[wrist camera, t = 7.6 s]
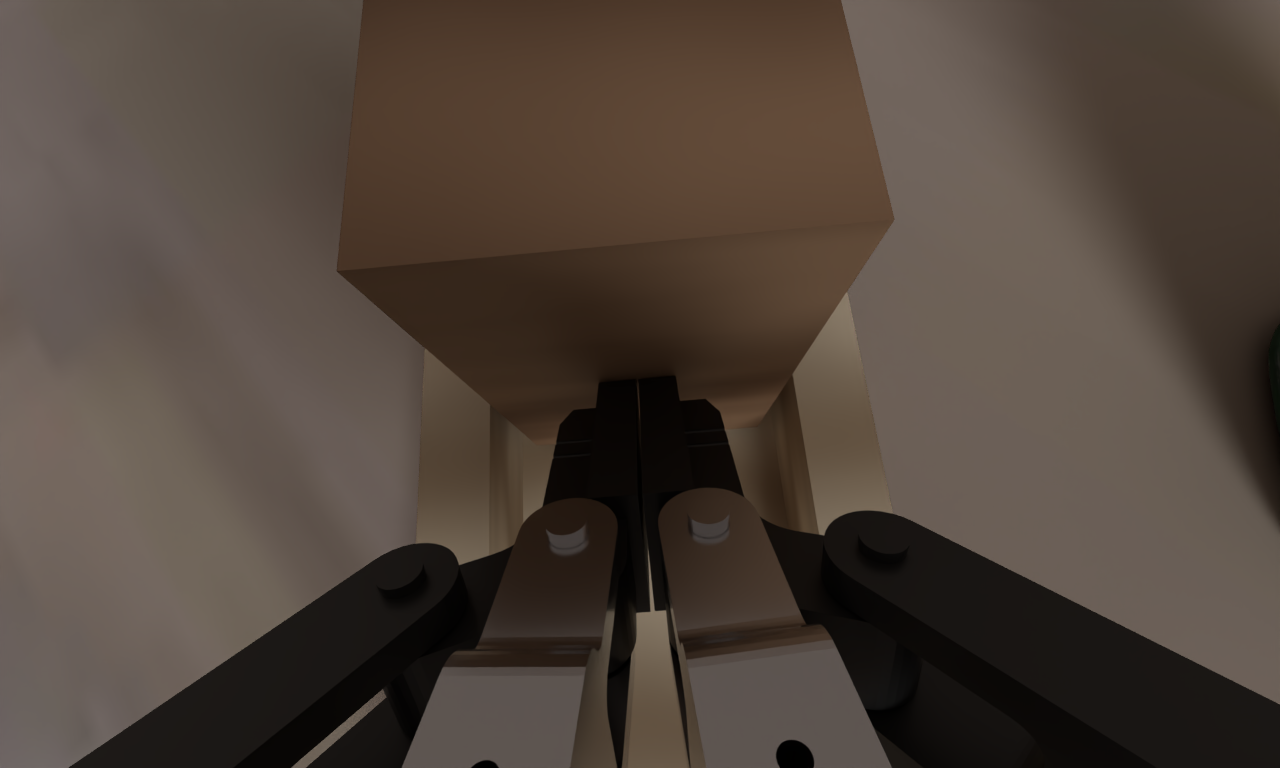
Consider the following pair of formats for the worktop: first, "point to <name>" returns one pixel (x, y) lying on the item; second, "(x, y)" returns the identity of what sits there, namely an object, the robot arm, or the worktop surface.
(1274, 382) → the coffee jar
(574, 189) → the walnut block
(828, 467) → the birch chute
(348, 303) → the worktop surface
